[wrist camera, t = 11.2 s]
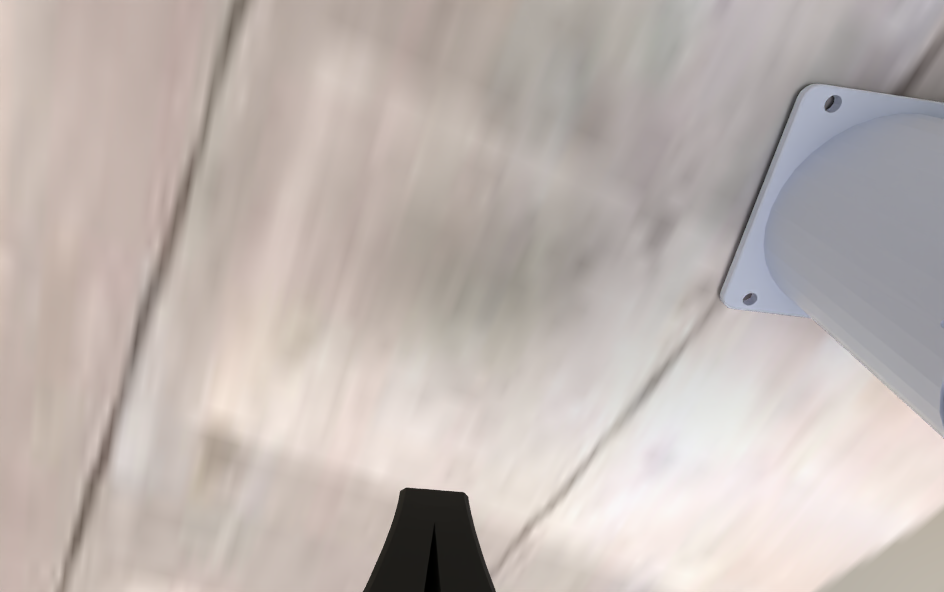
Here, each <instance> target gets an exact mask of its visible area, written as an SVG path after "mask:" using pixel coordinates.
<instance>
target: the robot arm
mask: <svg viewBox="0 0 944 592" xmlns="http://www.w3.org/2000/svg"><path fill="white" fill-rule="evenodd" d="M831 96H834V103H833V105H832V106H831V108H829V109H828V110H825V108H824V106H825V102H826V101H827V99H828V98H829V97H831ZM749 293H752V296H751V297H750V298H749V299H748V300H743V298H744V297H745V295H747V294H749ZM720 299H721V301H722V302H723V303H724V304H725V305H726V306H727V307H728V308H731V309H738V310H747V311H755V312H764V313H772V314H781V315H789V316H798V317H806V318H812V319H813V320H814V321H815V322H817V323H818V324H819V325H820V326H821V327H822V328H823V329H824V330H825V331H826V332H828V333H829V334H830V335H831V336H832V337H833V338H834V339H835V340H836V341H837V342H839V343H840V344H841V345H842V346H843V347H844V348H845V349H846V350H847V351H848V352H849V353H851V354H852V355H853V356H854V357H855V358H856V359H857V360H858V361H859V362H860V363H862V364H863V365H864V366H865V367H866V368H867V369H868V370H869V371H870V372H871V373H873V374H874V375H875V376H876V377H877V378H878V379H879V380H880V381H881V382H882V383H884V384H885V385H886V386H887V387H888V388H889V389H890V390H891V391H892V392H893V393H895V394H896V395H897V396H898V397H899V398H900V399H901V400H902V401H903V402H904V403H906V404H907V405H908V406H909V407H910V408H911V409H912V410H913V411H914V412H915V413H916V414H918V415H919V416H920V417H921V418H922V419H923V420H924V421H925V422H926V423H927V424H929V425H930V426H931V427H932V428H933V429H934V430H935V431H936V432H937V433H938V434H940V435H941V436H942V437H943V438H944V102H937V101H931V100H924V99H918V98H911V97H905V96H898V95H891V94H885V93H878V92H872V91H865V90H859V89H852V88H845V87H839V86H832V85H826V84H819V83H817V84H811V85H809V86H806V87H805V88H804V89H803V90H802V91H801V92H800V93H799V95H798V97H797V99H796V101H795V104H794V107H793V109H792V112H791V114H790V117H789V119H788V122H787V124H786V127H785V129H784V132H783V134H782V137H781V140H780V142H779V145H778V147H777V150H776V152H775V155H774V157H773V160H772V162H771V165H770V168H769V170H768V173H767V175H766V178H765V180H764V183H763V185H762V188H761V190H760V193H759V196H758V198H757V201H756V203H755V206H754V208H753V211H752V213H751V216H750V218H749V221H748V223H747V226H746V229H745V231H744V234H743V236H742V239H741V241H740V244H739V246H738V249H737V251H736V254H735V257H734V259H733V262H732V264H731V267H730V269H729V272H728V274H727V277H726V279H725V282H724V285H723V287H722V290H721V293H720ZM363 592H496V591H495V588H494V585H493V583H492V580H491V577H490V574H489V572H488V569H487V566H486V563H485V560H484V557H483V554H482V551H481V548H480V544H479V541H478V538H477V535H476V531H475V527H474V523H473V519H472V515H471V510H470V506H469V500H468V496H467V495H466V494H465V493H464V492H454V491H441V490H429V489H416V488H405V489H403V490H401V491H400V495H399V501H398V505H397V509H396V512H395V516H394V519H393V522H392V525H391V528H390V531H389V533H388V536H387V538H386V541H385V544H384V546H383V549H382V551H381V553H380V556H379V558H378V560H377V562H376V565H375V567H374V569H373V572H372V574H371V576H370V578H369V581H368V583H367V585H366V587H365V589H364V591H363Z"/></svg>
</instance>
